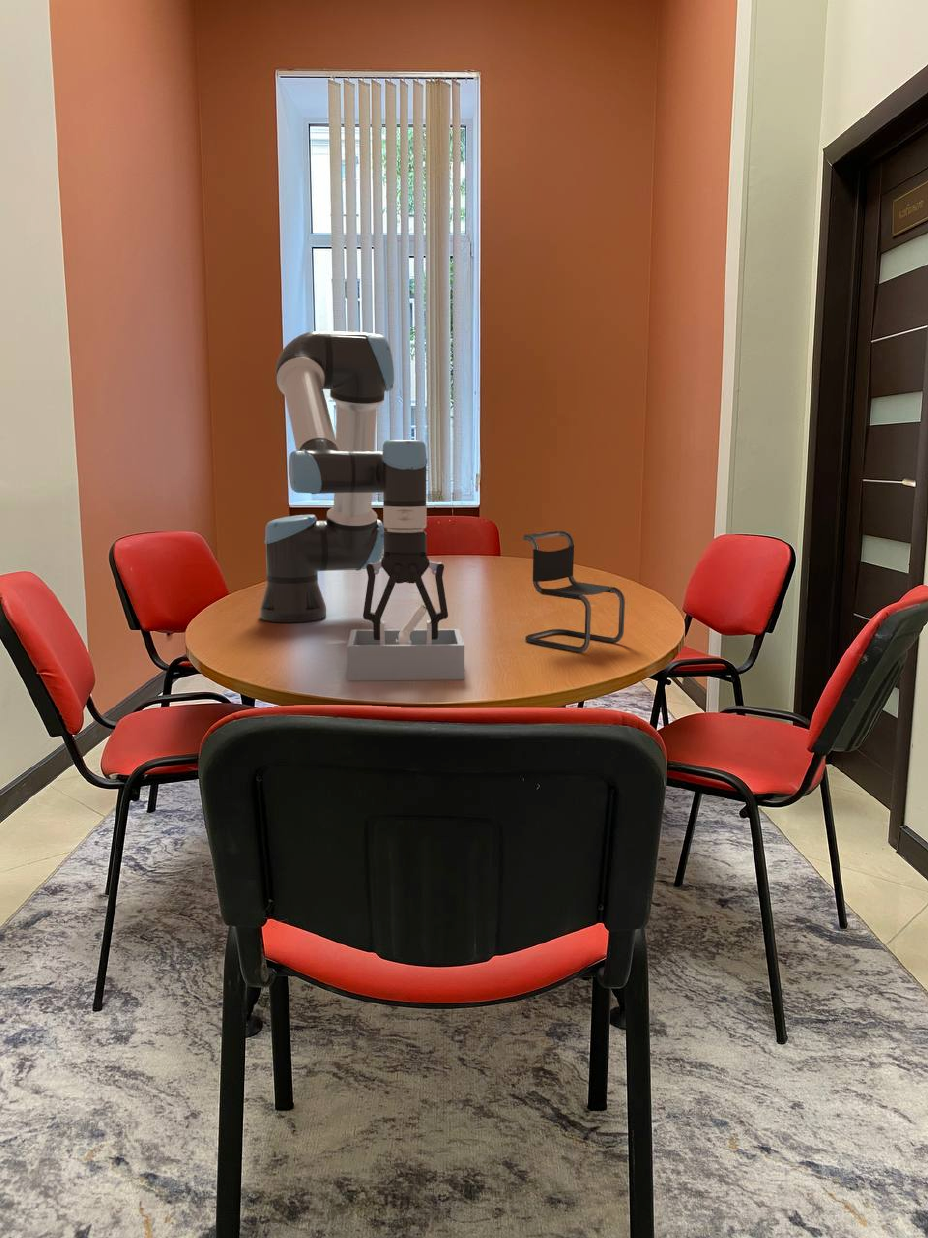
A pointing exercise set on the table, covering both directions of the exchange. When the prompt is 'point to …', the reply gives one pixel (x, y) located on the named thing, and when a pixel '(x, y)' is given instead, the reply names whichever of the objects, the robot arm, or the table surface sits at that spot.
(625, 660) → the table surface
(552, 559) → the chair
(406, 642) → the white ring with handle
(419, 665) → the well
